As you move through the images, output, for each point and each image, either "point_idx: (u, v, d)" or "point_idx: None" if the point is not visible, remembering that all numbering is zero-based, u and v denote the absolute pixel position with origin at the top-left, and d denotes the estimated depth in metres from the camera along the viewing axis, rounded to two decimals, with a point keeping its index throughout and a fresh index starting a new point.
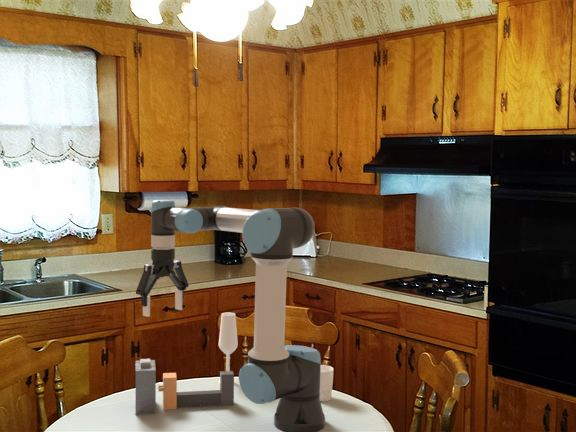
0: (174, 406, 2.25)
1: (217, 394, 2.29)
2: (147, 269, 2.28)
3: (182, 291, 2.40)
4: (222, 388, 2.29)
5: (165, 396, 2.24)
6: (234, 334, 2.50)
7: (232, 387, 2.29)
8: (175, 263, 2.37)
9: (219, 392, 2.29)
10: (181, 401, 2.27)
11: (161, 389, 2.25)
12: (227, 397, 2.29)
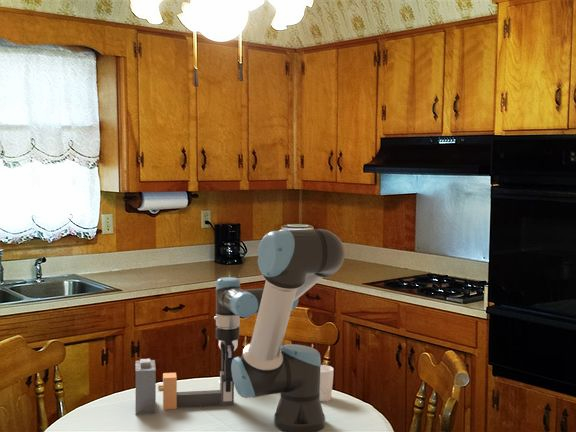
0: (174, 406, 2.25)
1: (217, 394, 2.29)
2: (231, 356, 2.24)
3: None
4: (222, 388, 2.29)
5: (165, 396, 2.24)
6: None
7: (232, 387, 2.29)
8: None
9: (219, 392, 2.29)
10: (181, 401, 2.27)
11: (161, 389, 2.25)
12: None
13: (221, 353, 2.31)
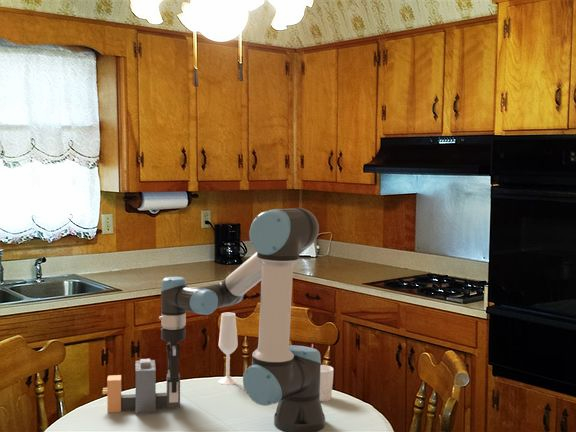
0: (119, 409, 2.22)
1: (163, 397, 2.25)
2: (176, 354, 2.19)
3: None
4: (168, 391, 2.25)
5: (109, 399, 2.21)
6: (234, 334, 2.50)
7: (178, 390, 2.26)
8: None
9: (165, 395, 2.26)
10: (126, 404, 2.23)
11: (105, 392, 2.21)
12: None
13: (167, 352, 2.28)
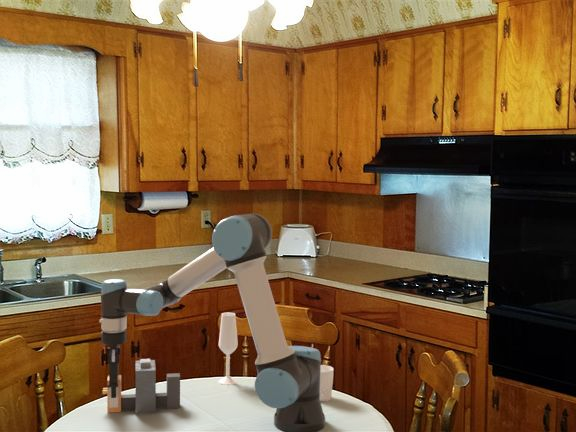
0: (119, 409, 2.22)
1: (163, 397, 2.25)
2: (115, 360, 2.16)
3: None
4: (168, 391, 2.25)
5: None
6: (234, 334, 2.50)
7: (178, 390, 2.26)
8: None
9: (165, 395, 2.26)
10: (126, 404, 2.23)
11: (105, 392, 2.21)
12: (173, 399, 2.26)
13: None
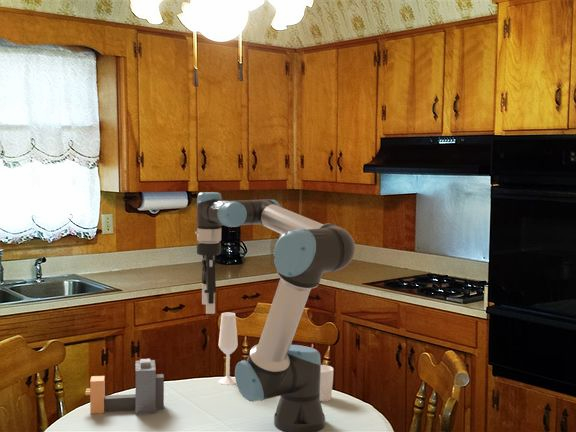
0: (102, 410, 2.21)
1: None
2: (213, 264, 2.20)
3: None
4: None
5: (92, 400, 2.20)
6: (234, 334, 2.50)
7: (162, 391, 2.25)
8: None
9: None
10: (109, 405, 2.22)
11: (88, 393, 2.20)
12: (157, 400, 2.25)
13: (202, 268, 2.29)
